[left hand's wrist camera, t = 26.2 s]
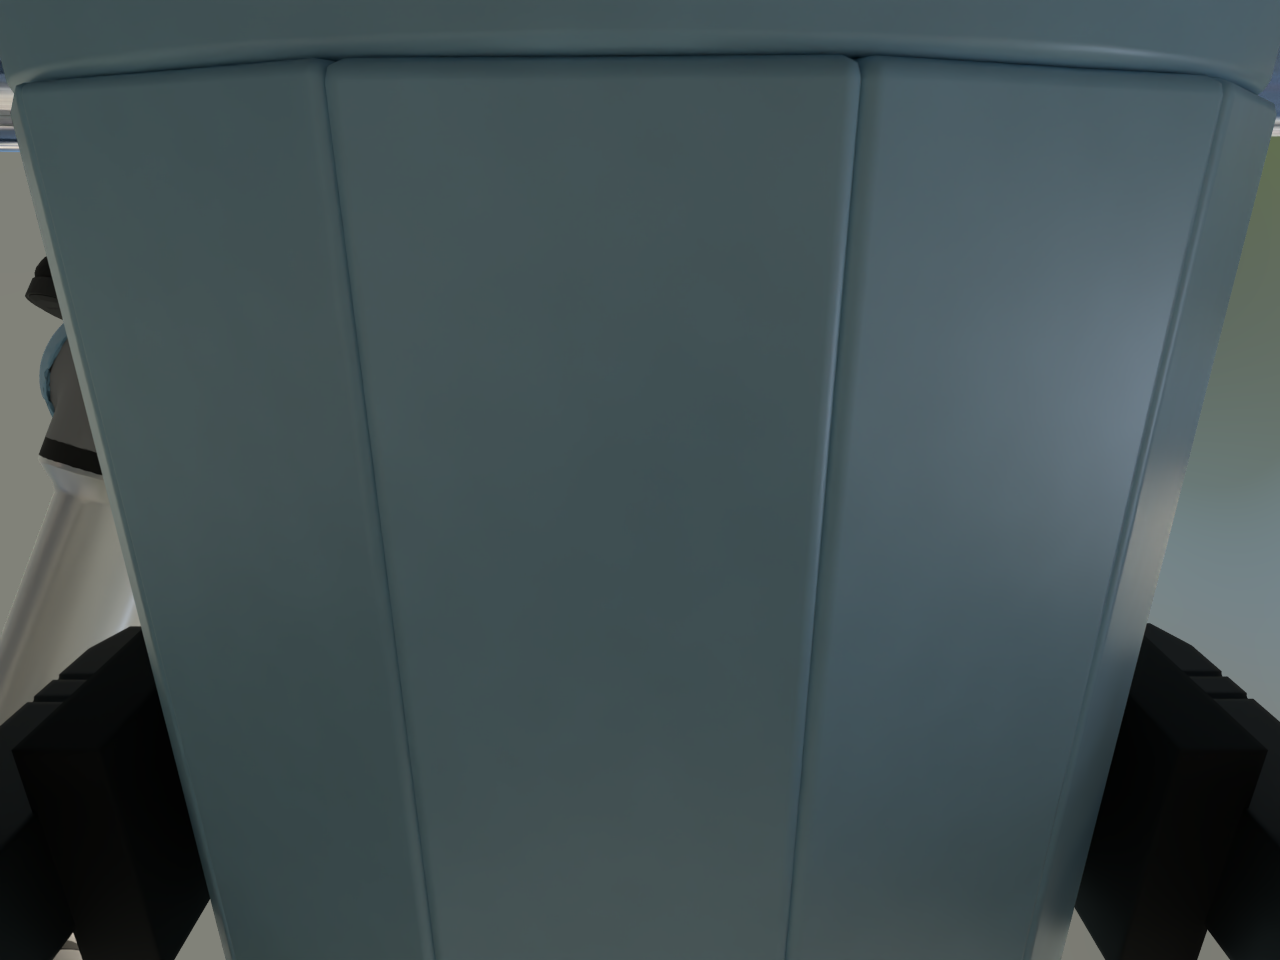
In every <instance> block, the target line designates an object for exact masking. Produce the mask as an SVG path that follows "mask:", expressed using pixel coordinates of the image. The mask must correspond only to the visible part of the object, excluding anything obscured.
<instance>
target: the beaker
mask: <svg viewBox="0 0 1280 960" xmlns="http://www.w3.org/2000/svg"><path fill="white" fill-rule="evenodd" d="M1279 46H1280V0H0V58H1V62H2V66H3V70H4V74H5V78H6V82H7V84H8V85H9V87H10V88H11V90H12V91H13V92H14V98H13V103H12V108H11V113H10V114H11V118H12V122H13V126H14V130H15V134H16V137H17V141H18V145H19V149H20V153H21V157H22V161H23V165H24V169H25V173H26V177H27V181H28V185H29V188H30V192H31V196H32V200H33V204H34V208H35V212H36V216H37V220H38V224H39V228H40V231H41V236H42V240H43V243H44V247H45V251H46V255H47V259H48V263H49V267H50V271H51V275H52V279H53V283H54V287H55V291H56V295H57V299H58V302H59V306H60V310H61V314H62V318H63V322H64V326H65V330H66V334H67V338H68V342H69V346H70V350H71V353H72V357H73V361H74V365H75V369H76V373H77V377H78V381H79V385H80V389H81V393H82V397H83V401H84V405H85V408H86V412H87V416H88V420H89V424H90V428H91V432H92V436H93V440H94V444H95V448H96V452H97V456H98V460H99V463H100V467H101V471H102V475H103V479H104V483H105V487H106V491H107V495H108V499H109V503H110V507H111V511H112V515H113V518H114V522H115V526H116V530H117V534H118V538H119V542H120V546H121V550H122V554H123V558H124V562H125V566H126V570H127V573H128V577H129V581H130V585H131V589H132V593H133V597H134V601H135V605H136V609H137V613H138V617H139V621H140V625H141V628H142V632H143V636H144V640H145V644H146V648H147V652H148V656H149V660H150V664H151V668H152V672H153V676H154V680H155V683H156V687H157V691H158V695H159V699H160V703H161V707H162V711H163V715H164V719H165V723H166V727H167V731H168V734H169V738H170V742H171V746H172V750H173V754H174V758H175V762H176V766H177V770H178V774H179V778H180V782H181V786H182V789H183V793H184V797H185V801H186V805H187V809H188V813H189V817H190V821H191V825H192V829H193V833H194V837H195V841H196V844H197V848H198V852H199V856H200V860H201V864H202V868H203V872H204V876H205V880H206V884H207V888H208V892H209V896H210V899H211V903H212V907H213V911H214V915H215V919H216V923H217V927H218V931H219V935H220V939H221V943H222V947H223V950H224V954H225V958H226V960H1061V957H1062V953H1063V949H1064V946H1065V942H1066V938H1067V934H1068V930H1069V926H1070V922H1071V918H1072V914H1073V910H1074V906H1075V902H1076V898H1077V895H1078V891H1079V887H1080V883H1081V879H1082V875H1083V871H1084V867H1085V863H1086V859H1087V855H1088V851H1089V848H1090V844H1091V840H1092V836H1093V832H1094V828H1095V824H1096V820H1097V816H1098V812H1099V808H1100V804H1101V801H1102V797H1103V793H1104V789H1105V785H1106V781H1107V777H1108V773H1109V769H1110V765H1111V761H1112V757H1113V754H1114V750H1115V746H1116V742H1117V738H1118V734H1119V730H1120V726H1121V722H1122V718H1123V714H1124V710H1125V706H1126V703H1127V699H1128V695H1129V691H1130V687H1131V683H1132V679H1133V675H1134V671H1135V667H1136V663H1137V659H1138V656H1139V652H1140V648H1141V644H1142V640H1143V636H1144V632H1145V628H1146V624H1147V620H1148V616H1149V612H1150V608H1151V604H1152V601H1153V597H1154V593H1155V589H1156V585H1157V581H1158V577H1159V573H1160V569H1161V565H1162V561H1163V558H1164V554H1165V550H1166V546H1167V542H1168V538H1169V534H1170V530H1171V526H1172V522H1173V518H1174V514H1175V510H1176V506H1177V503H1178V499H1179V495H1180V491H1181V487H1182V483H1183V479H1184V475H1185V471H1186V467H1187V463H1188V459H1189V456H1190V452H1191V448H1192V444H1193V440H1194V436H1195V432H1196V428H1197V424H1198V420H1199V416H1200V413H1201V409H1202V405H1203V401H1204V397H1205V393H1206V389H1207V385H1208V381H1209V377H1210V373H1211V370H1212V365H1213V362H1214V357H1215V354H1216V350H1217V346H1218V342H1219V338H1220V334H1221V330H1222V326H1223V323H1224V318H1225V315H1226V311H1227V307H1228V303H1229V299H1230V295H1231V291H1232V287H1233V283H1234V279H1235V275H1236V271H1237V268H1238V264H1239V260H1240V256H1241V252H1242V248H1243V244H1244V240H1245V236H1246V232H1247V228H1248V224H1249V221H1250V217H1251V213H1252V209H1253V205H1254V201H1255V197H1256V193H1257V189H1258V185H1259V181H1260V178H1261V174H1262V170H1263V166H1264V162H1265V158H1266V154H1267V150H1268V146H1269V142H1270V138H1271V134H1272V131H1273V127H1274V123H1275V119H1276V115H1277V114H1276V109H1275V105H1274V104H1273V103H1271V102H1270V101H1268V100H1266V99H1264V98H1262V97H1260V96H1258V94H1260V93H1261V92H1262V91H1263V90H1264V89H1265V87H1266V86H1267V85H1268V83H1269V82H1270V80H1271V78H1272V74H1273V70H1274V66H1275V62H1276V58H1277V54H1278V50H1279Z"/></svg>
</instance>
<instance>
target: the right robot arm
mask: <svg viewBox="0 0 1280 960" xmlns="http://www.w3.org/2000/svg"><path fill="white" fill-rule="evenodd" d="M40 388H41V393H42V396H43V398H44V399H45V401H46V403H47V406H48V409H49V411H50V413H51V415H52V417H53V418H52V420H51V423H50V426H49V428H48V431H47V433H46V437H45V439H44V442H43V445H42V447H41V450H40V453H39V456H38V462H39V463H40V465H41V466H42V468H43V469H44V471H45V472H46V474H47V475H48V477H49V478H50V480H51V481H52V484H53V488H54V493H53V495H52V498H51V501H50V504H49V506H48V509H47V512H46V514H45V517H44V520H43V522H42V525H41V528H40V531H39V534H38V536H37V539H36V541H35V544H34V547H33V550H32V552H31V555H30V558H29V560H28V563H27V566H26V569H25V571H24V574H23V577H22V579H21V582H20V585H19V588H18V590H17V593H16V596H15V598H14V601H13V604H12V606H11V609H10V612H9V615H8V617H7V620H6V623H5V626H4V628H3V631H2V634H1V636H0V725H2V724H3V723H4V722H5V721H6V720H7V719H8V718H10V717H11V716H12V715H13V714H14V713H15V712H16V711H18V710H19V709H20V708H21V707H22V706H23V705H24V704H26V703H27V702H33V700H34V696H35V695H36V694H37V693H38V692H39V691H41V690H42V689H43V688H44V687H45V686H46V685H47V684H49V683H50V682H51V681H52V680H58V679H59V674H60V673H61V672H62V671H63V670H65V669H66V668H67V667H68V666H69V665H70V664H71V663H73V662H74V661H75V660H76V659H77V658H78V657H79V656H81V655H82V654H83V653H84V652H85V651H86V650H87V649H89V648H90V647H92V646H94V645H96V644H98V643H100V642H102V641H103V640H105V639H107V638H109V637H111V636H113V635H115V634H117V633H118V632H120V631H122V630H124V629H126V628H128V627H130V626H141V625H140V621H139V617H138V613H137V609H136V605H135V601H134V597H133V593H132V589H131V585H130V581H129V577H128V573H127V570H126V566H125V562H124V558H123V554H122V550H121V546H120V542H119V538H118V534H117V530H116V526H115V522H114V518H113V515H112V511H111V507H110V503H109V499H108V495H107V491H106V487H105V483H104V479H103V475H102V471H101V467H100V463H99V460H98V456H97V452H96V448H95V444H94V440H93V436H92V432H91V428H90V424H89V420H88V416H87V412H86V408H85V405H84V401H83V397H82V393H81V389H80V385H79V381H78V377H77V373H76V369H75V365H74V361H73V357H72V353H71V350H70V346H69V342H68V338H67V334H66V330H65V326H64V323H63V324H62V325H61V326H60V327H59V329H58V330H57V331H56V332H55V333H54V335H53V336H52V338H51V339H50V341H49V343H48V345H47V347H46V349H45V351H44V354H43V357H42V361H41V365H40ZM53 960H82V957H81V954H80V951H79V948H78V945H77V942H76V939H75V936H74V933H72V935H71V936H70V937H69V939H68V940H67V941H66V943H65V944H64V946H63V947H62V948H61V950H60V951H59V952H58V954H57V955H56V956H55V958H54V959H53Z"/></svg>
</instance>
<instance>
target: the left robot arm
mask: <svg viewBox="0 0 1280 960" xmlns="http://www.w3.org/2000/svg"><path fill="white" fill-rule="evenodd" d="M1246 695H1247V693H1246V692H1245V691H1244V690H1242V689H1241V688H1240V687H1239V686H1238V685H1237V684H1235V683H1234V682H1233V681H1232V680H1231V679H1230V678H1229V677H1222V674H1221V670H1219V669H1218V668H1217V667H1216V666H1215V665H1214V664H1212V663H1211V662H1210V661H1209V660H1208V659H1207V658H1206V657H1204V656H1203V655H1202V654H1201V653H1200V652H1198V651H1197V650H1196V649H1195V648H1194V647H1193V646H1192V645H1190V644H1188V643H1186V642H1184V641H1182V640H1180V639H1179V638H1177V637H1175V636H1173V635H1171V634H1169V633H1167V632H1165V631H1163V630H1162V629H1160V628H1158V627H1156V626H1154V625H1152V624H1150V623H1147V624H1146V628H1145V632H1144V636H1143V640H1142V644H1141V648H1140V652H1139V656H1138V659H1137V663H1136V667H1135V671H1134V675H1133V679H1132V683H1131V687H1130V691H1129V695H1128V699H1127V703H1126V706H1125V710H1124V714H1123V718H1122V722H1121V726H1120V730H1119V734H1118V738H1117V742H1116V746H1115V750H1114V754H1113V757H1112V761H1111V765H1110V769H1109V773H1108V777H1107V781H1106V785H1105V789H1104V793H1103V797H1102V801H1101V804H1100V808H1099V812H1098V816H1097V820H1096V824H1095V828H1094V832H1093V836H1092V840H1091V844H1090V848H1089V851H1088V855H1087V859H1086V863H1085V867H1084V871H1083V875H1082V879H1081V883H1080V887H1079V891H1078V895H1077V898H1076V902H1075V906H1074V907H1075V909H1076V911H1077V912H1078V914H1079V916H1080V917H1081V919H1082V921H1083V922H1084V924H1085V926H1086V928H1087V929H1088V931H1089V933H1090V934H1091V936H1092V938H1093V940H1094V941H1095V943H1096V945H1097V946H1098V948H1099V950H1100V951H1101V953H1102V955H1103V956H1104V958H1105V960H1197V958H1198V956H1199V953H1200V950H1201V947H1202V944H1203V941H1204V938H1205V935H1206V932H1207V929H1208V931H1209V932H1210V933H1211V935H1212V936H1213V937H1214V939H1215V940H1216V941H1217V943H1218V944H1219V945H1220V947H1221V948H1222V950H1223V951H1224V952H1225V954H1226V955H1227V956H1228V958H1229V959H1230V960H1280V722H1279V721H1278V720H1277V719H1276V718H1275V717H1274V716H1272V715H1271V714H1270V713H1269V712H1268V711H1267V710H1265V709H1264V708H1263V707H1262V706H1261V705H1260V704H1259V703H1257V702H1256V701H1255V700H1254V699H1248V698H1247V696H1246ZM209 900H210V896H209V892H208V888H207V884H206V880H205V876H204V872H203V868H202V864H201V860H200V856H199V852H198V848H197V844H196V841H195V837H194V833H193V829H192V825H191V821H190V817H189V813H188V809H187V805H186V801H185V797H184V793H183V789H182V786H181V782H180V778H179V774H178V770H177V766H176V762H175V758H174V754H173V750H172V746H171V742H170V738H169V734H168V731H167V727H166V723H165V719H164V715H163V711H162V707H161V703H160V699H159V695H158V691H157V687H156V683H155V680H154V676H153V672H152V668H151V664H150V660H149V656H148V652H147V648H146V644H145V640H144V636H143V632H142V628H141V626H130V627H128V628H126V629H124V630H122V631H120V632H118V633H117V634H115V635H113V636H111V637H109V638H107V639H105V640H103V641H102V642H100V643H98V644H96V645H94V646H92V647H90V648H89V649H87V650H86V651H85V652H84V653H83V654H82V655H81V656H79V657H78V658H77V659H76V660H75V661H74V662H73V663H71V664H70V665H69V666H68V667H67V668H66V669H65V670H63V671H62V672H61V673H60V674H59V679H58V680H52V681H51V682H50V683H49V684H47V685H46V686H45V687H44V688H43V689H42V690H41V691H39V692H38V693H37V694H36V695H35V696H34V700H33V702H27V703H26V704H24V705H23V706H22V707H21V708H20V709H19V710H18V711H16V712H15V713H14V714H13V715H12V716H11V717H10V718H8V719H7V720H6V721H5V722H4V723H3V724H2V725H0V960H53V959H54V958H55V956H56V955H57V954H58V952H59V951H60V950H61V948H62V947H63V946H64V944H65V943H66V941H67V940H68V939H69V937H70V936H71V935H72V933H74V936H75V939H76V942H77V945H78V948H79V951H80V954H81V957H82V960H174V959H175V958H176V956H177V954H178V953H179V951H180V949H181V947H182V946H183V944H184V942H185V941H186V939H187V937H188V935H189V934H190V932H191V930H192V929H193V927H194V925H195V923H196V922H197V920H198V918H199V917H200V915H201V913H202V912H203V910H204V908H205V906H206V905H207V903H208V901H209Z"/></svg>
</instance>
